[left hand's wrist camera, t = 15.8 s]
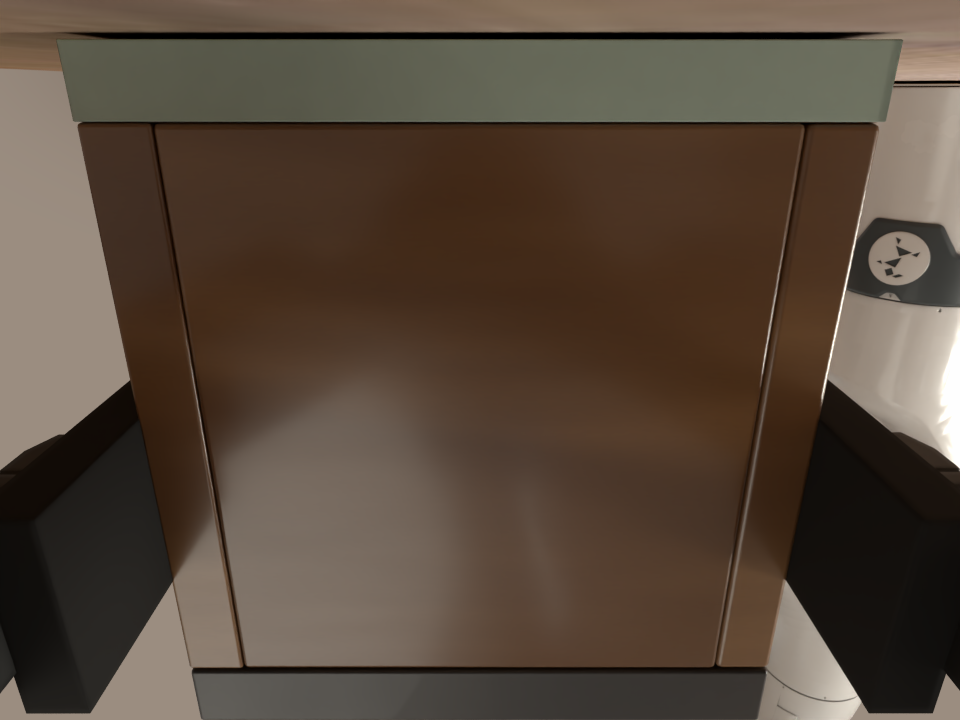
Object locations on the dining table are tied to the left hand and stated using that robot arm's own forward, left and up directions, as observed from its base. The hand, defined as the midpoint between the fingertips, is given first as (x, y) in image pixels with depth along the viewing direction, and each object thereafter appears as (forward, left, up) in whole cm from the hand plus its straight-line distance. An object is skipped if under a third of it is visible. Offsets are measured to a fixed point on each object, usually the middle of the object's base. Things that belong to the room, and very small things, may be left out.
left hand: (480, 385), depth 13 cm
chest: (+3, 0, -6) cm, 7 cm away
